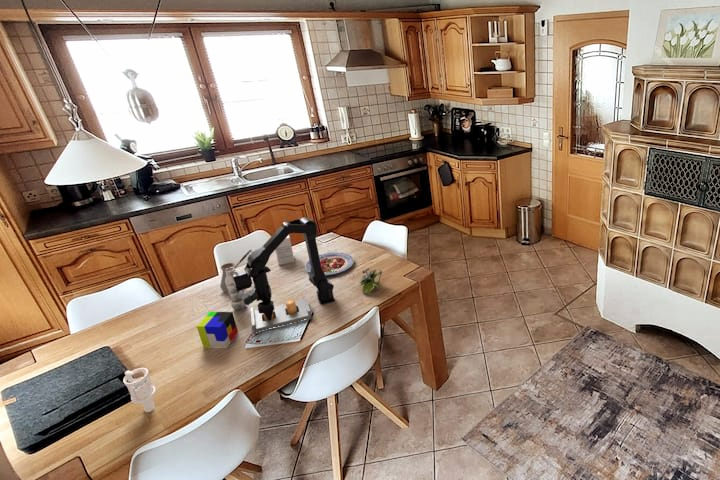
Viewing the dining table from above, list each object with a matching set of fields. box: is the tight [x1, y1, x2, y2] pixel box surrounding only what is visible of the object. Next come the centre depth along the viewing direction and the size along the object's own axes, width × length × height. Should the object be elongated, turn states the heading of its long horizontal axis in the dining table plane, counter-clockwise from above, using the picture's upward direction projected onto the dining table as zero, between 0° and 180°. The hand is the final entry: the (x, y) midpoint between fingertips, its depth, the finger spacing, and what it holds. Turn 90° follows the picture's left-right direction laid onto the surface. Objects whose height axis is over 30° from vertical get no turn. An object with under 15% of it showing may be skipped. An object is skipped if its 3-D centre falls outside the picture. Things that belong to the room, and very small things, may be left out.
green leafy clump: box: [358, 268, 383, 294], centre depth 183 cm, size 11×11×12 cm
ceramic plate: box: [304, 251, 355, 276], centre depth 210 cm, size 26×26×3 cm
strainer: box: [122, 367, 157, 413], centre depth 127 cm, size 7×7×15 cm
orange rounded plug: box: [263, 313, 275, 321], centre depth 168 cm, size 4×4×6 cm
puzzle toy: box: [196, 311, 239, 349], centre depth 159 cm, size 10×10×10 cm
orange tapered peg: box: [285, 299, 298, 315], centre depth 171 cm, size 4×4×6 cm
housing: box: [250, 294, 313, 334], centre depth 170 cm, size 24×14×4 cm, turn 107°
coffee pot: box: [219, 249, 254, 294], centre depth 200 cm, size 21×12×15 cm, turn 143°
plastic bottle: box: [225, 267, 247, 311], centre depth 177 cm, size 6×7×20 cm
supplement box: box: [274, 234, 295, 266], centre depth 220 cm, size 9×9×15 cm
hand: (268, 315), depth 169 cm, fingers open, 8 cm apart
